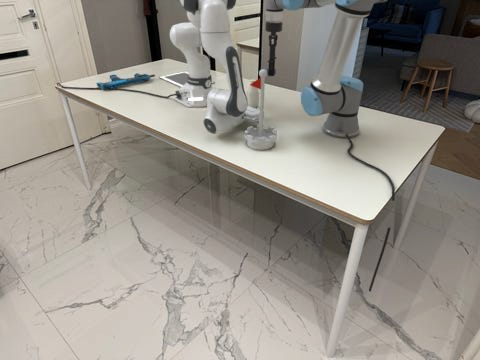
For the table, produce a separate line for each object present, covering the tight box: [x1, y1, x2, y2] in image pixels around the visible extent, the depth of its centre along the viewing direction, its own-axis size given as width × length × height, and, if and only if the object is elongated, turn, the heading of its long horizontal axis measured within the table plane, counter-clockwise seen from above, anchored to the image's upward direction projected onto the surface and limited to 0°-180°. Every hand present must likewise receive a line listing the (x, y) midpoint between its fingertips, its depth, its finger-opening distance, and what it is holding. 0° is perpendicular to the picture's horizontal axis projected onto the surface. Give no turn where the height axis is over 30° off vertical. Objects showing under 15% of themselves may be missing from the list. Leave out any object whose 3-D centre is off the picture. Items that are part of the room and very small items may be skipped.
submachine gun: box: [95, 72, 156, 91], centre depth 209 cm, size 34×4×25 cm
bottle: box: [246, 78, 260, 108], centre depth 156 cm, size 6×6×19 cm
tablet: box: [158, 70, 215, 88], centre depth 212 cm, size 32×20×1 cm, turn 41°
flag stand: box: [244, 68, 278, 151], centre depth 131 cm, size 13×13×30 cm
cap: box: [266, 67, 276, 76], centre depth 162 cm, size 4×4×2 cm
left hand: (253, 106), depth 158 cm, fingers closed on bottle, 5 cm apart
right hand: (271, 74), depth 163 cm, fingers closed on cap, 4 cm apart
